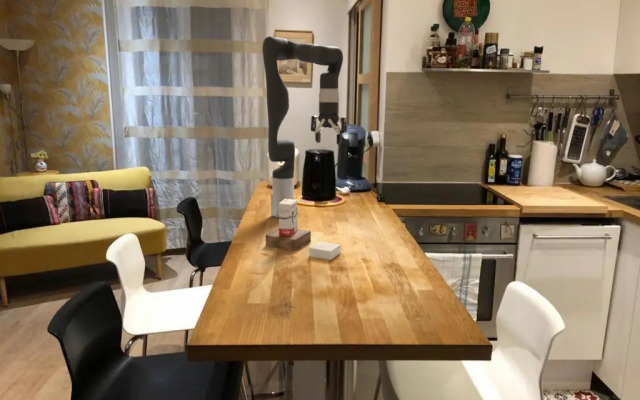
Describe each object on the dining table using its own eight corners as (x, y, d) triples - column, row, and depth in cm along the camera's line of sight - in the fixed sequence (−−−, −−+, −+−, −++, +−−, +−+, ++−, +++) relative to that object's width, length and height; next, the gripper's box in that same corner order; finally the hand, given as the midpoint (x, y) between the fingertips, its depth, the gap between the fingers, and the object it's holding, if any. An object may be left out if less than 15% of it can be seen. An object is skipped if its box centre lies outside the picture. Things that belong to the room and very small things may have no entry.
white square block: (309, 256, 174) (309, 247, 173) (319, 249, 181) (319, 241, 180) (330, 259, 171) (330, 251, 170) (340, 252, 178) (340, 244, 177)
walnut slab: (265, 245, 185) (265, 235, 184) (282, 236, 195) (282, 226, 194) (295, 250, 180) (295, 239, 179) (310, 241, 190) (310, 230, 189)
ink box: (291, 236, 182) (291, 204, 179) (278, 235, 183) (278, 203, 180) (298, 230, 190) (298, 199, 188) (285, 229, 191) (285, 198, 189)
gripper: (307, 100, 196) (307, 143, 200) (342, 101, 190) (341, 145, 194) (316, 100, 203) (316, 141, 206) (349, 100, 197) (349, 143, 200)
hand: (328, 143), depth 200 cm, fingers open, 8 cm apart
